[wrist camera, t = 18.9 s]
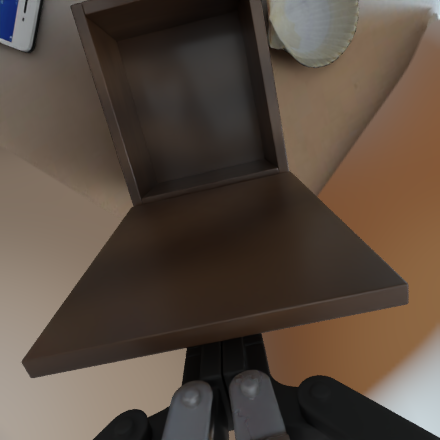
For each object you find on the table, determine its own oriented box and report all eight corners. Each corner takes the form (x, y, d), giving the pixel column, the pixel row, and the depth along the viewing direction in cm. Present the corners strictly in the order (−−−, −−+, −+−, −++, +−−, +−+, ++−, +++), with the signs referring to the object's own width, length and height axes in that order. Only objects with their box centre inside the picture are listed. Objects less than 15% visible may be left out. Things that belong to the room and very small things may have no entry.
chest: (108, 36, 29) (69, 4, 21) (244, 1, 28) (253, -45, 20) (153, 191, 33) (134, 210, 25) (273, 163, 32) (289, 175, 24)
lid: (19, 361, 10) (30, 379, 11) (409, 283, 10) (409, 304, 10) (131, 207, 25) (134, 216, 25) (290, 170, 24) (292, 181, 24)
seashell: (337, 65, 31) (356, -39, 27) (354, 68, 28) (378, -47, 24) (256, 64, 30) (263, -45, 26) (266, 67, 27) (276, -54, 23)
